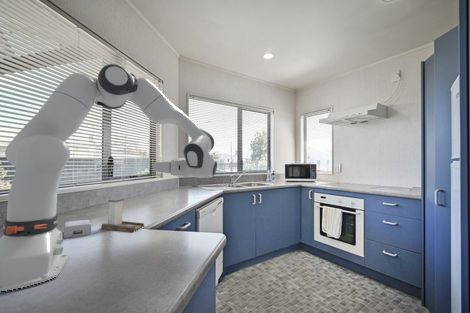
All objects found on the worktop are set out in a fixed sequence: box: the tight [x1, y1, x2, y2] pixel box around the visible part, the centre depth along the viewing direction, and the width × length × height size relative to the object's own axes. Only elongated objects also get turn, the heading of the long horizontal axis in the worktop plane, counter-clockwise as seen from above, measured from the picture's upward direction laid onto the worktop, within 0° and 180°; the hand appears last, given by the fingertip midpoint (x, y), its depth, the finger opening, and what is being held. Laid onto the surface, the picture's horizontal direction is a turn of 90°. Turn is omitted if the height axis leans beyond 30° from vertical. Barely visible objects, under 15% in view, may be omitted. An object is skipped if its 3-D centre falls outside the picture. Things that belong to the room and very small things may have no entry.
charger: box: [63, 219, 92, 239], centre depth 98 cm, size 5×9×15 cm
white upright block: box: [107, 197, 125, 225], centre depth 107 cm, size 4×5×12 cm
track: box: [101, 220, 145, 233], centre depth 106 cm, size 17×8×2 cm, turn 78°
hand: (155, 166), depth 106 cm, fingers closed
